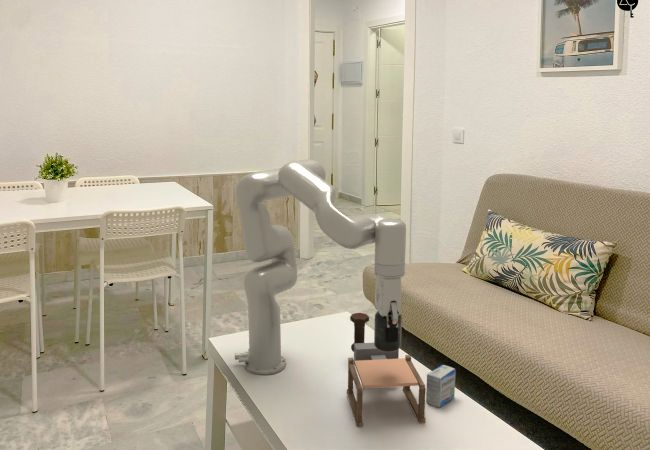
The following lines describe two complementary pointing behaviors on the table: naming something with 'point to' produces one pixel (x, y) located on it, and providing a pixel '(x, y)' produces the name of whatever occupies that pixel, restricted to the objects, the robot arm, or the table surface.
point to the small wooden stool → (417, 408)
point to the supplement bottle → (380, 333)
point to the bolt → (359, 327)
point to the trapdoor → (381, 367)
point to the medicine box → (440, 385)
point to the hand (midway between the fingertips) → (387, 334)
